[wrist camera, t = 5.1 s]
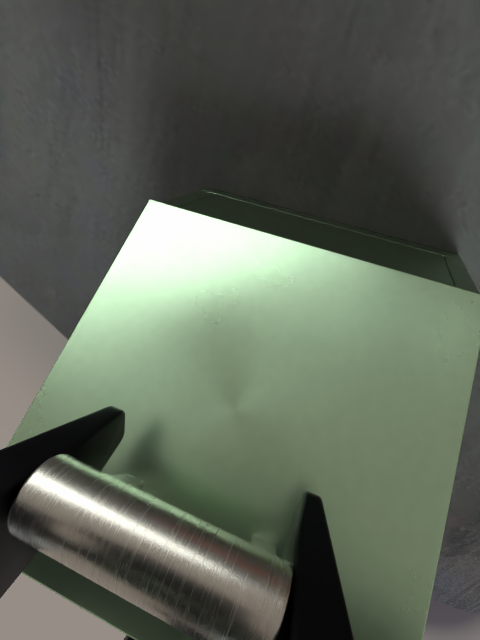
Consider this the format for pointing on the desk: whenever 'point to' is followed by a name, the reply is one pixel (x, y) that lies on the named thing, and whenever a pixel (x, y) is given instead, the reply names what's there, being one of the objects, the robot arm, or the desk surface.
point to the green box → (331, 236)
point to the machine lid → (250, 433)
